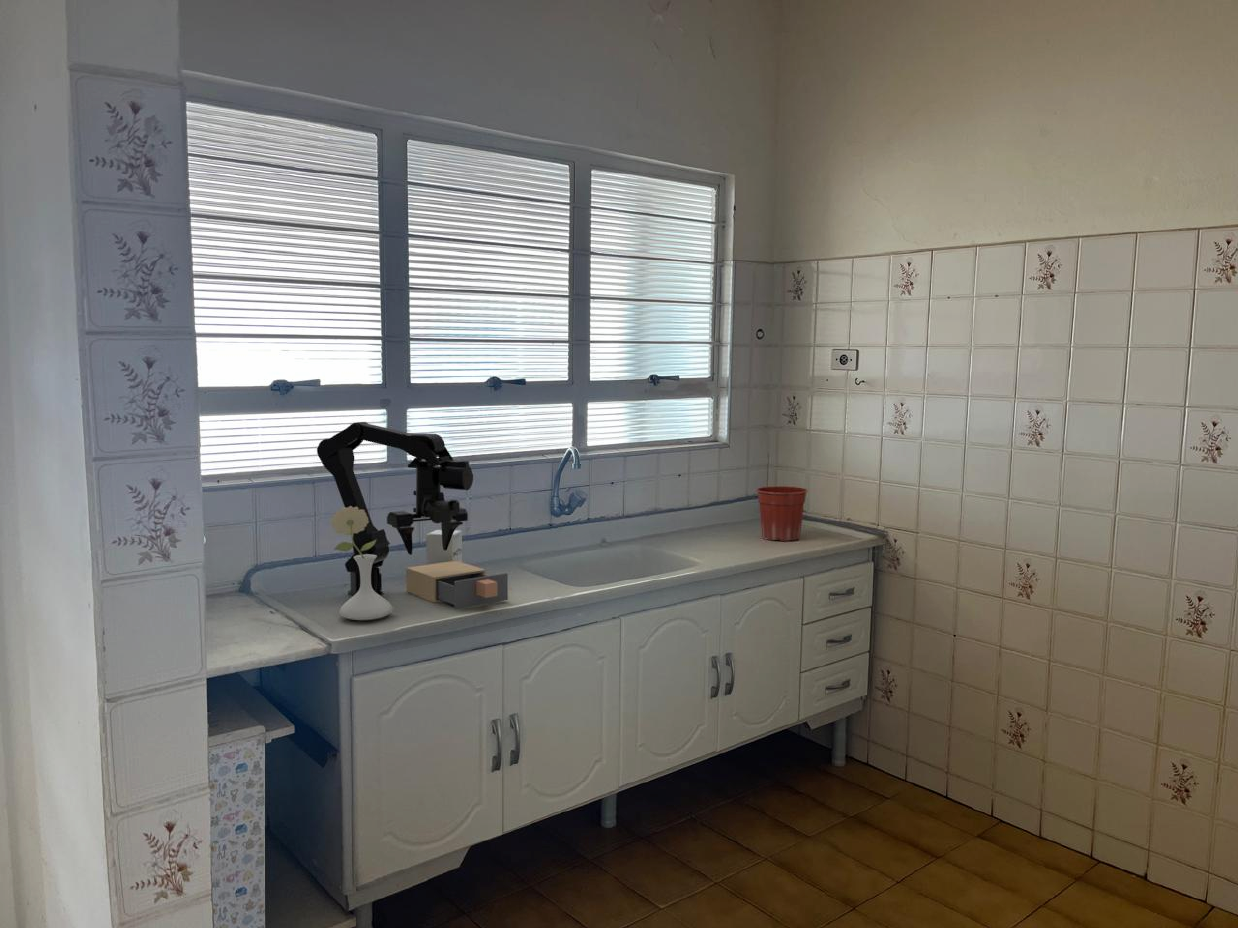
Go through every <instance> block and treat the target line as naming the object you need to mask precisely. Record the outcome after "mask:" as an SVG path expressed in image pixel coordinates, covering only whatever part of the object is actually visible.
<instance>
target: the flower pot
mask: <svg viewBox="0 0 1238 928" xmlns="http://www.w3.org/2000/svg"><path fill="white" fill-rule="evenodd" d="M755 491H756V492H757V498H758V504H759V513H760V526H761V538H763V537H764V538H767V539H771V540H770V541H772V540H776V541H781V542H791V541H790V540H795V541H797V539H798V540H799V539H801V532H802V523H803V522H802V521H803V514H804V504H805V502H806V496H807V493H808V491H809V489H807V488H803V487H799V486H784V485H783V486H782V485H781V486H776V485H775V486H763V487H762V486H761V487H760V486H759V487H757V488H755ZM764 538H763V539H764ZM788 540H789V541H788Z"/></svg>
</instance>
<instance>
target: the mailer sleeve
mask: <svg viewBox="0 0 1238 928" xmlns="http://www.w3.org/2000/svg"><path fill="white" fill-rule="evenodd" d="M405 569H406V570H405V571H406V592H407V593H409V592H410V593H409V594H411V593H412V595H414V596H416V595H417V597H420V598H423V599H424V600H427V601H430V602H432V603H435V604H436V603H439V602H444V601H443V600H440V599H437V595H436V579H442V578H449V577H455V576H461V575H468V574H474V573H481V574H484V575H486V569H484V568H482V567H477V566H475V565H472V564H468V563H465V562H463V561H462V562H459V561H450V562H443V563H436V564H429V565H426V564H423V565H418V566H410V567H406V568H405Z"/></svg>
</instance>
